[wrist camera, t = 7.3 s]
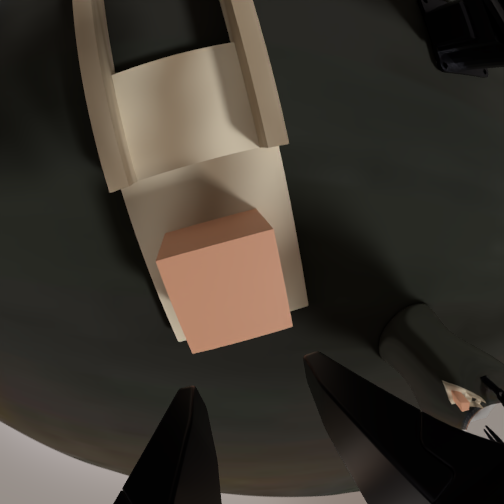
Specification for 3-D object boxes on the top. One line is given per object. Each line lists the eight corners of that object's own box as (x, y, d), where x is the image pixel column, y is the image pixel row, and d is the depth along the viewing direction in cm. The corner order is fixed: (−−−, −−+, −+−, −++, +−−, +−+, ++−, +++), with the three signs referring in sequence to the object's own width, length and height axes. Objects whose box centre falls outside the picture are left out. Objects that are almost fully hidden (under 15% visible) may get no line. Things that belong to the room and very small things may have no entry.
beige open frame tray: (209, -86, 9) (213, -110, 6) (303, 298, 20) (319, 322, 17) (84, -53, 9) (72, -74, 6) (179, 333, 19) (177, 362, 16)
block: (255, 208, 16) (273, 228, 12) (273, 289, 18) (292, 326, 14) (165, 233, 16) (155, 261, 12) (192, 311, 18) (192, 353, 14)
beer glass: (357, 354, 23) (456, 499, 9) (409, 285, 21) (547, 407, 7) (402, 371, 25) (487, 481, 11) (446, 313, 23) (553, 410, 9)
